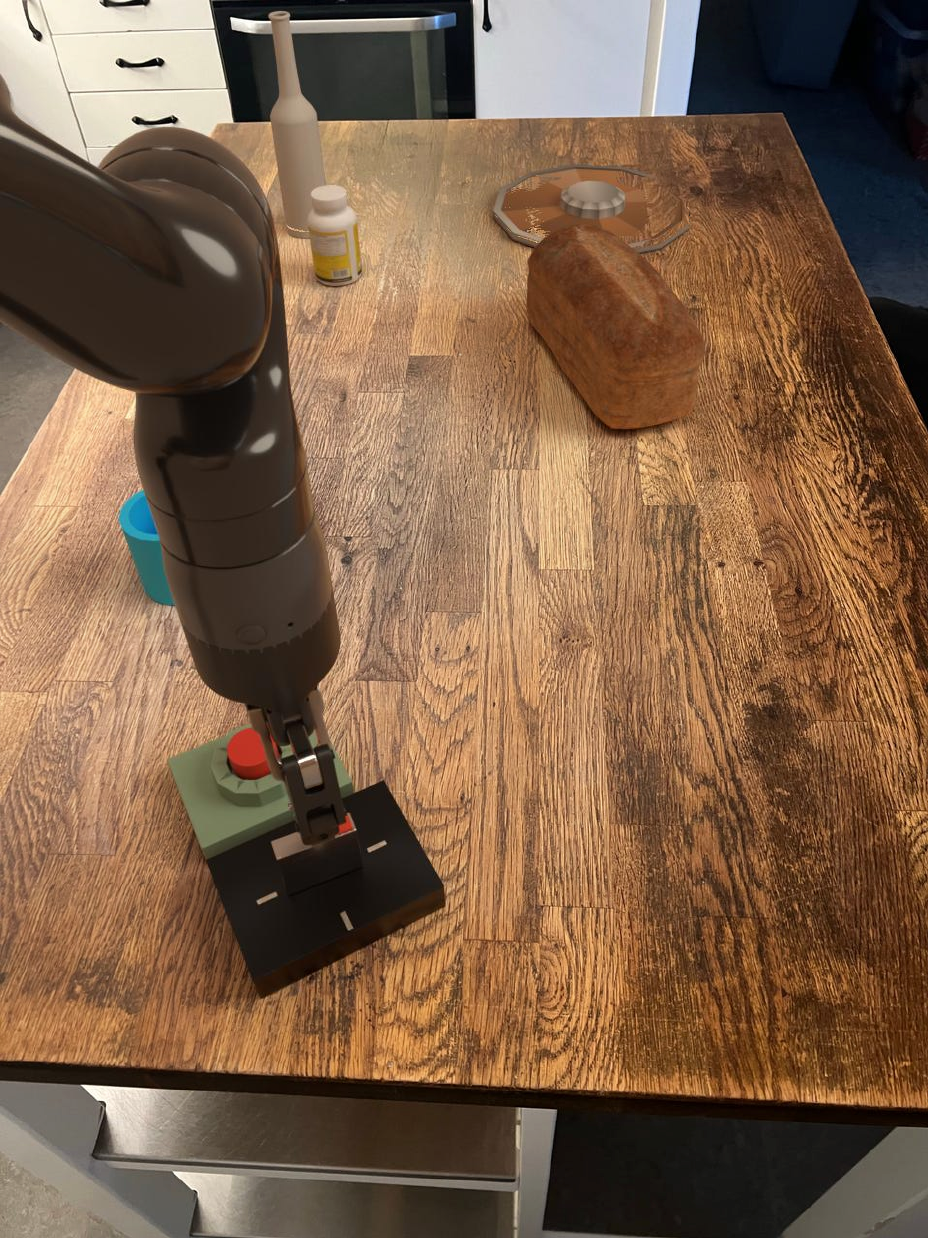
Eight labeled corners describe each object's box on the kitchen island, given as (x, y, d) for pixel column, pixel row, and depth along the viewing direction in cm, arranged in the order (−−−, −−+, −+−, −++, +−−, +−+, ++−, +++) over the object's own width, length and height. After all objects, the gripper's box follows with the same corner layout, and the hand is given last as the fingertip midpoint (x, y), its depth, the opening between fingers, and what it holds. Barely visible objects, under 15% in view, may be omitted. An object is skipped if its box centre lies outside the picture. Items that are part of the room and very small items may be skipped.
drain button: (240, 787, 72) (235, 773, 70) (225, 752, 74) (220, 738, 73) (285, 767, 73) (282, 754, 72) (269, 733, 75) (265, 720, 74)
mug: (125, 594, 91) (100, 529, 85) (170, 539, 96) (149, 474, 90) (238, 623, 88) (220, 558, 82) (278, 565, 93) (264, 499, 87)
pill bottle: (349, 261, 136) (340, 177, 127) (370, 279, 132) (362, 194, 124) (307, 273, 134) (295, 189, 125) (327, 292, 130) (316, 207, 121)
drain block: (207, 864, 71) (195, 836, 68) (173, 775, 77) (160, 745, 74) (355, 797, 75) (350, 768, 72) (312, 717, 81) (305, 686, 78)
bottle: (278, 228, 144) (243, 13, 123) (313, 214, 147) (285, 3, 126) (304, 242, 140) (272, 24, 120) (340, 228, 143) (315, 13, 123)
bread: (606, 449, 105) (618, 338, 95) (514, 312, 125) (516, 210, 115) (707, 428, 107) (729, 318, 97) (600, 297, 128) (610, 196, 118)
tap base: (260, 1000, 64) (252, 980, 62) (214, 880, 70) (204, 858, 68) (445, 906, 69) (444, 885, 66) (386, 801, 75) (383, 778, 73)
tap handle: (288, 896, 66) (276, 858, 62) (282, 878, 67) (270, 839, 63) (363, 867, 68) (356, 827, 64) (356, 849, 69) (349, 810, 65)
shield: (459, 215, 138) (535, 139, 156) (460, 237, 140) (535, 160, 159) (663, 253, 129) (717, 168, 148) (659, 276, 132) (714, 189, 150)
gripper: (374, 667, 43) (398, 854, 55) (289, 484, 52) (325, 678, 64) (208, 720, 41) (269, 901, 53) (150, 520, 50) (213, 713, 62)
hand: (300, 779), depth 58 cm, fingers open, 8 cm apart
